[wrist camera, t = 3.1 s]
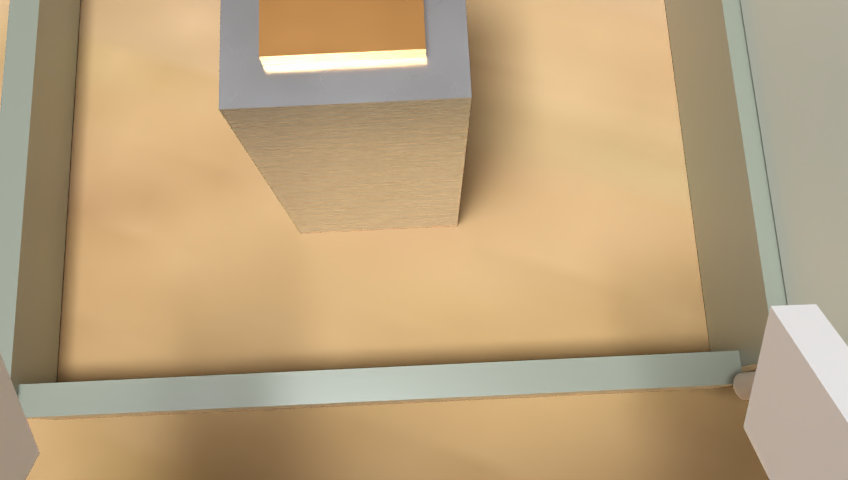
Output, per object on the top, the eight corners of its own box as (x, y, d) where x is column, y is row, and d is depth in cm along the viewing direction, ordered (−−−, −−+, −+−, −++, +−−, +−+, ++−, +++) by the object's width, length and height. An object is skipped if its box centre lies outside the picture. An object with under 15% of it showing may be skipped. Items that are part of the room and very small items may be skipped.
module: (300, 233, 28) (214, 102, 17) (298, 75, 29) (218, -140, 18) (457, 226, 28) (472, 89, 17) (448, 68, 29) (457, -152, 18)
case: (22, 436, 26) (-889, 437, 8) (56, -34, 31) (-500, -726, 12) (850, 397, 26) (1778, 312, 8) (771, -68, 31) (1269, -810, 12)
